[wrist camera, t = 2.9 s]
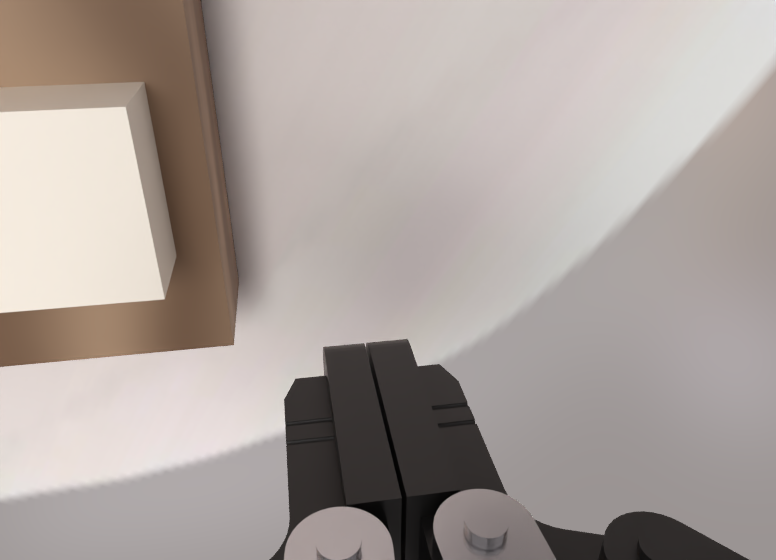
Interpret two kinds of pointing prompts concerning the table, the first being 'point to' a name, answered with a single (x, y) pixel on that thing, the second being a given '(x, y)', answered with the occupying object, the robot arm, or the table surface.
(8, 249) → the cream tile
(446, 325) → the table surface
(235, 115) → the table surface
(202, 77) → the wood grain slab
